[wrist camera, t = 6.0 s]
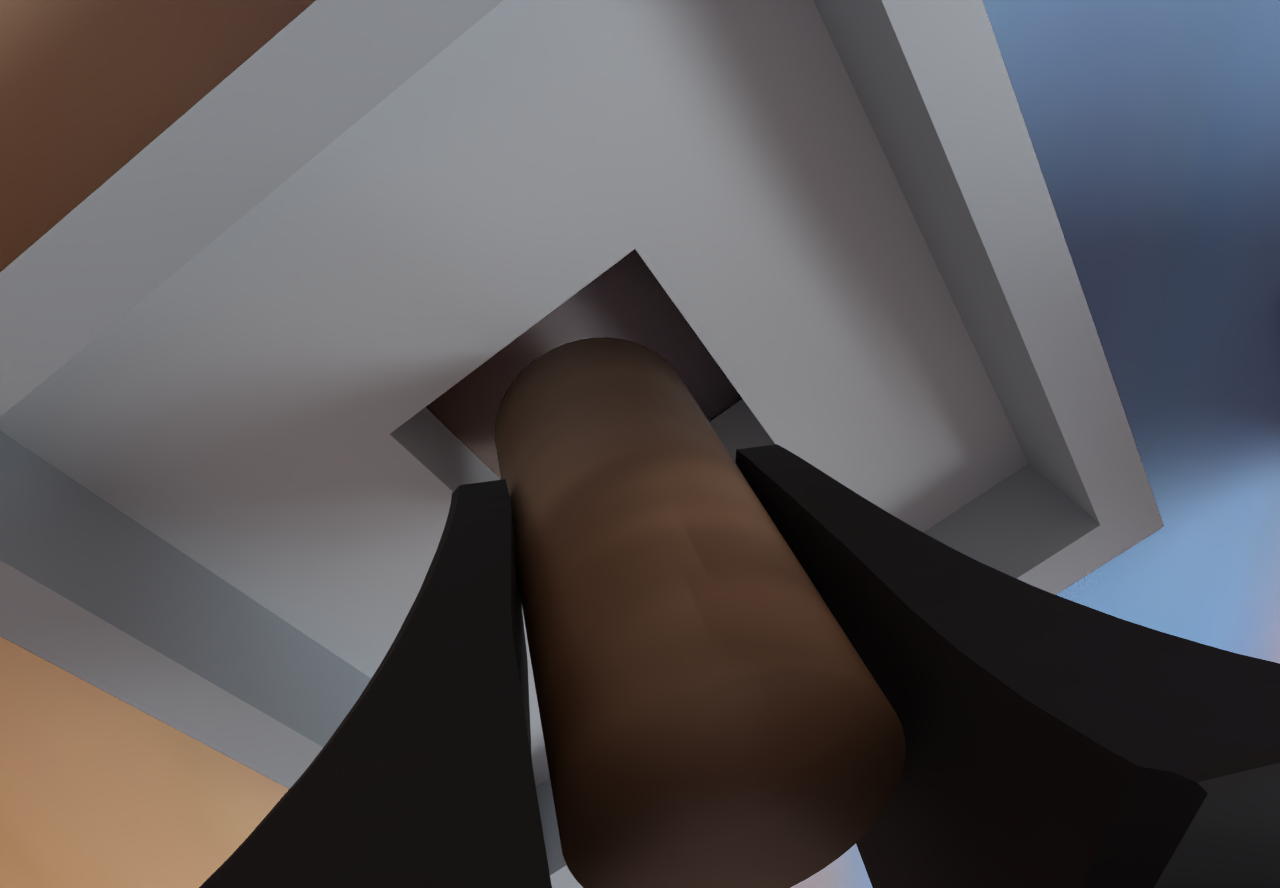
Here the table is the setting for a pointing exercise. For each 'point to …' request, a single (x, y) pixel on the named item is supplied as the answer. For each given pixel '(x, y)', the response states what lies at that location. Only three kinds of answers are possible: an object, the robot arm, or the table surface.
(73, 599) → the slate box
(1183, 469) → the table surface
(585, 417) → the walnut peg
